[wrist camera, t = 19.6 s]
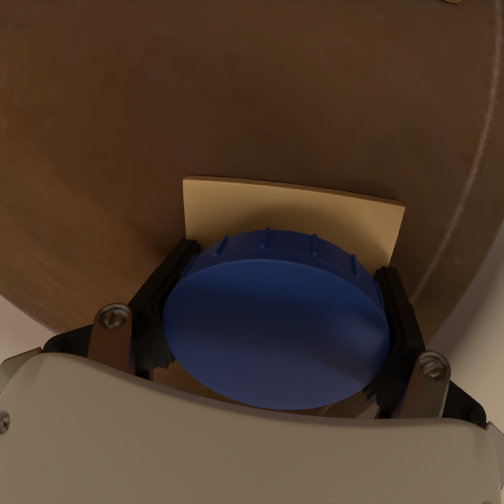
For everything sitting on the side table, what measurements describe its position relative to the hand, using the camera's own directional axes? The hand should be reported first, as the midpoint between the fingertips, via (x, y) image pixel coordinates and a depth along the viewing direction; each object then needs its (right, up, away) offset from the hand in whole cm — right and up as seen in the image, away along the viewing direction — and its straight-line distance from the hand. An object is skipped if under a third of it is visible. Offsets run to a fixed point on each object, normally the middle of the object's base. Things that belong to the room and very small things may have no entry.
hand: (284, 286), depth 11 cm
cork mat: (0, 0, +1) cm, 1 cm away
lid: (-1, -2, -3) cm, 3 cm away
